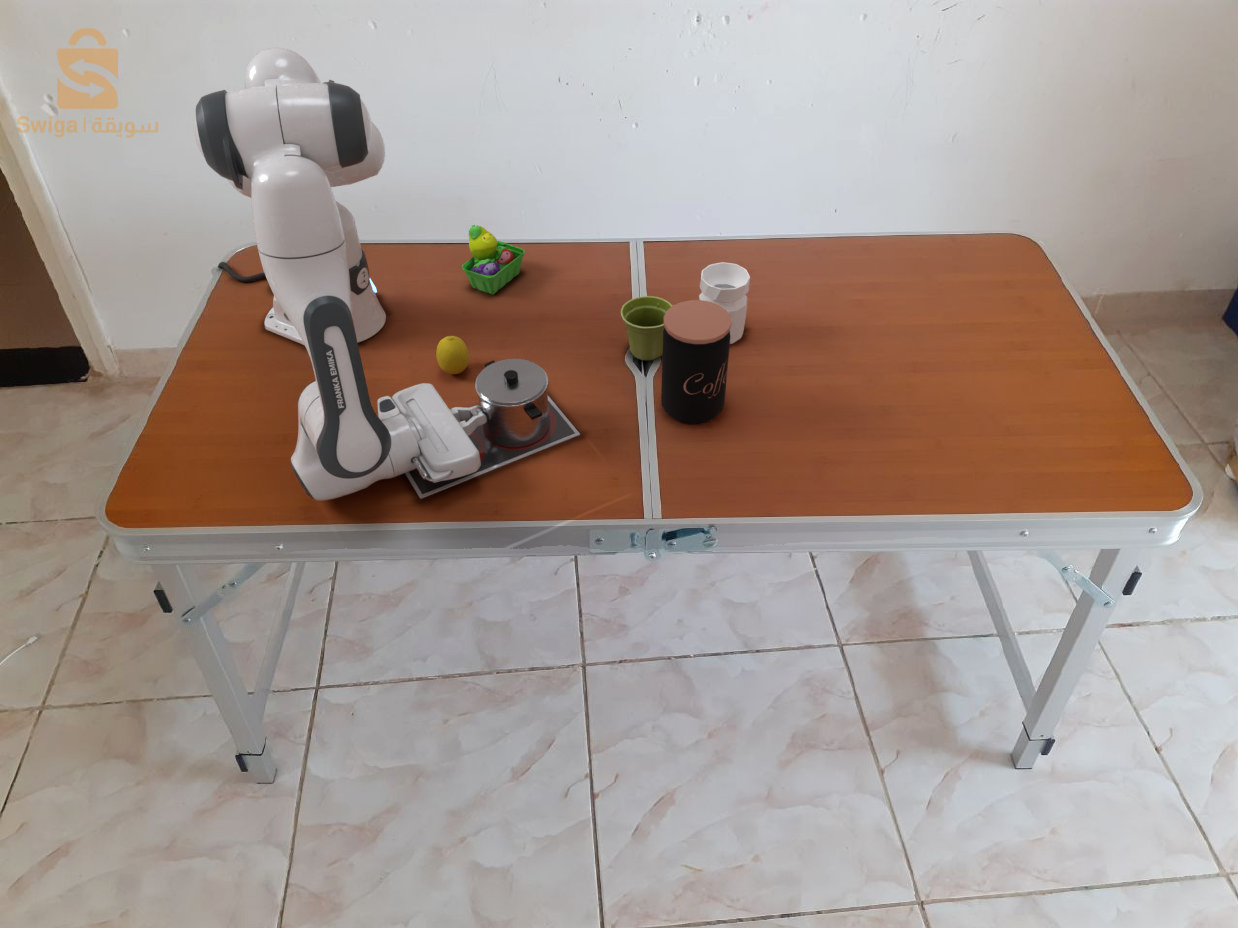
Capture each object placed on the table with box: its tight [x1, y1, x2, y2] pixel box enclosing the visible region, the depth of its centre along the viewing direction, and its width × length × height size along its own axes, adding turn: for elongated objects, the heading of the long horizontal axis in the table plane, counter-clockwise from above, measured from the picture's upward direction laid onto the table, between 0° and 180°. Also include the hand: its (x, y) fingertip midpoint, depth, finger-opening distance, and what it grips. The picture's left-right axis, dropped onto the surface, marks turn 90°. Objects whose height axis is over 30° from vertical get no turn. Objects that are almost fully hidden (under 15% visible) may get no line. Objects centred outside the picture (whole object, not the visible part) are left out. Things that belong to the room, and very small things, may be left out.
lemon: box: [435, 335, 470, 375], centre depth 166 cm, size 6×6×8 cm
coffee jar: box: [660, 299, 732, 426], centre depth 156 cm, size 11×11×18 cm
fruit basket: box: [461, 224, 526, 296], centre depth 186 cm, size 11×9×11 cm
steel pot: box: [474, 358, 550, 448], centre depth 154 cm, size 12×16×11 cm
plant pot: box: [620, 295, 673, 361], centre depth 170 cm, size 9×9×9 cm
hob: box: [404, 395, 581, 500], centre depth 156 cm, size 28×15×1 cm, turn 120°
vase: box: [698, 261, 751, 345], centre depth 173 cm, size 9×9×12 cm
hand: (482, 413), depth 153 cm, fingers closed, pressing on steel pot
